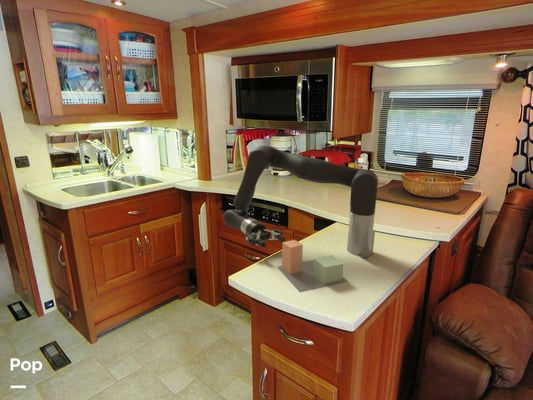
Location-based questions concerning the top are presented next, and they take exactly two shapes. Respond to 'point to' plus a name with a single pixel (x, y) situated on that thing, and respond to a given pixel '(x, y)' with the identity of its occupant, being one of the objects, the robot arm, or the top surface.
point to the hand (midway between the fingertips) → (274, 242)
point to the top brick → (292, 256)
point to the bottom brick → (328, 269)
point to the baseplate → (307, 278)
